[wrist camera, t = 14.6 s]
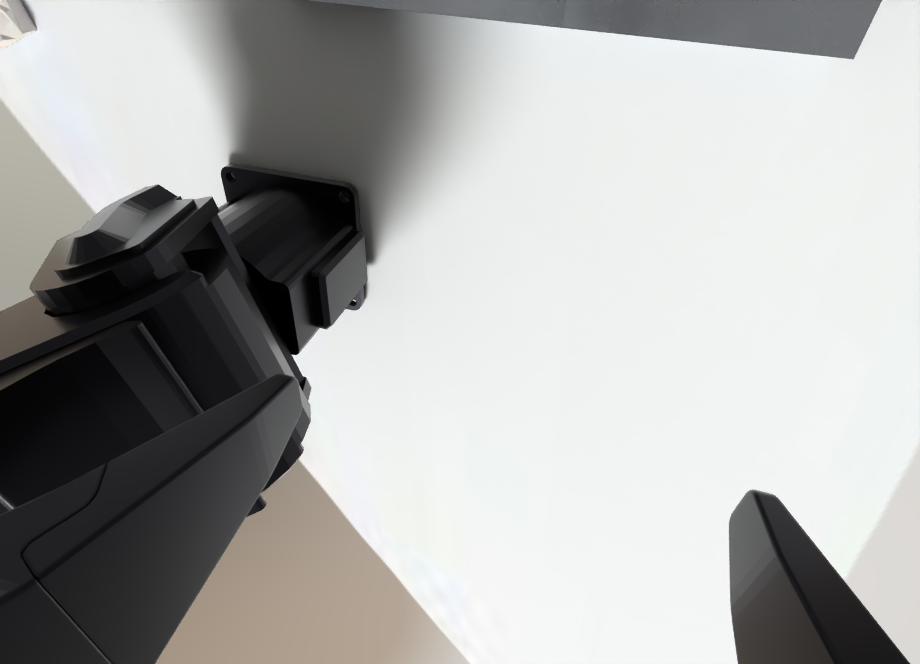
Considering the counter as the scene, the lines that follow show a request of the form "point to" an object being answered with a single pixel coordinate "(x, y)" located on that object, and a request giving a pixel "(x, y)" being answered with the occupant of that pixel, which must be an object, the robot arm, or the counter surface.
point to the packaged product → (14, 22)
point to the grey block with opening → (680, 19)
